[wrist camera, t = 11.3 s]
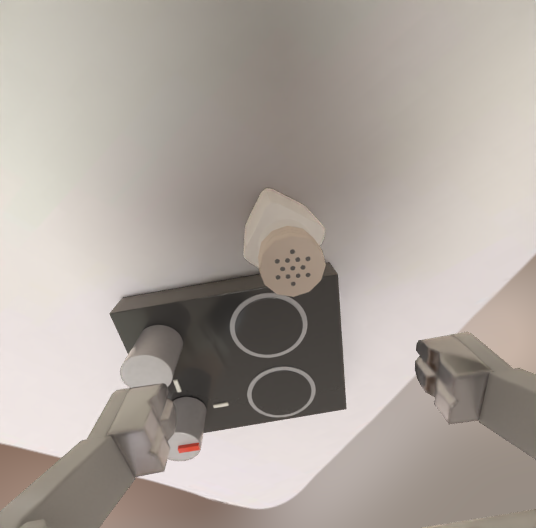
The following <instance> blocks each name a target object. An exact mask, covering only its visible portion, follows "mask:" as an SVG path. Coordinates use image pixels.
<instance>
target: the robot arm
mask: <svg viewBox="0 0 536 528" xmlns="http://www.w3.org/2000/svg"><path fill="white" fill-rule="evenodd" d="M416 351H417V352H418V353H419V355H420V356H419V357H418V359H417V360H416V361H415V371H416V375H417V379H418V381H419V382H420V385H421V386H422V388H423V389H424V391H425V392H426V393H428V394H430V395H432V396H434V397H435V403H434V404H435V406H436V407H437V409H438V410H439V411H440V413H441V414H442V415H443V417H444V418H445V420H446V421H447V422H448V424H455V423H463V422H469V421H478V420H479V422H480V423H481V424H483V425H484V426H486V427H487V428H489V429H490V430H492V431H493V432H495V433H496V434H498V435H499V436H501V437H502V438H504V439H505V440H507V441H509V442H510V443H511V444H513V445H515V446H516V447H517V448H519V449H520V450H522V451H523V452H525V453H526V454H528V455H529V456H531V457H532V458H534V459H536V374H533V373H531V372H528V371H526V370H523V369H520V368H515V369H513V368H512V367H511V366H510V365H509V364H507V363H506V362H505V361H504V360H503V359H501V358H500V357H499V356H498V355H497V354H495V353H494V352H493V351H492V350H491V349H489V348H488V347H487V346H486V345H485V344H483V343H482V342H481V341H480V340H479V339H477V338H476V337H475V336H474V335H472V334H471V333H469V332H463V333H457V334H452V335H447V336H441V337H435V338H430V339H424V340H419V341H418V343H417V346H416ZM168 394H169V390H168V388H167V385H166V384H164V383H160V384H153V385H146V386H139V387H132V388H128V389H120V390H116V391H115V392H114V393H113V394H112V395H111V397H110V399H109V401H108V402H107V404H106V406H105V408H104V410H103V411H102V413H101V415H100V417H99V418H98V420H97V422H96V424H95V426H94V427H93V429H92V431H91V433H90V435H89V436H88V438H87V440H82V441H80V442H79V443H78V444H77V445H76V446H75V447H73V448H72V449H71V450H70V451H69V452H68V453H67V454H65V455H64V456H63V457H62V458H61V459H60V460H59V461H57V462H56V463H55V464H54V465H53V466H52V467H50V468H49V469H48V470H47V471H46V472H45V473H44V474H42V475H41V476H40V477H39V478H38V479H37V480H36V481H34V482H33V483H32V484H31V485H30V486H29V487H28V488H26V490H24V491H23V492H22V493H21V494H19V495H18V496H17V497H16V498H15V499H14V500H13V501H11V502H10V503H9V504H8V505H7V506H6V507H5V508H3V509H2V510H1V511H0V528H99V527H100V526H101V525H102V523H103V522H104V520H105V519H106V518H107V517H108V515H109V514H110V512H111V511H112V510H113V508H114V507H115V506H116V504H117V503H118V502H119V500H120V499H121V498H122V496H123V495H124V494H125V492H126V491H127V490H128V488H129V487H130V485H131V484H132V483H133V481H134V480H135V477H138V476H143V475H148V474H153V473H158V472H163V471H164V470H165V466H166V463H167V459H168V455H169V451H170V446H169V444H168V440H169V439H170V438H171V437H172V436H173V434H174V432H175V428H176V422H177V412H176V407H175V404H174V402H173V401H172V400H170V399H169V398H167V397H168ZM423 528H536V509H533V510H527V511H521V512H515V513H509V514H503V515H496V516H491V517H484V518H478V519H472V520H466V521H460V522H453V523H447V524H441V525H435V526H429V527H423Z"/></svg>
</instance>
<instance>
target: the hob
mask: <svg viewBox="0 0 536 528" xmlns="http://www.w3.org/2000/svg"><path fill="white" fill-rule="evenodd" d="M261 293H275V292H274V291H272V290H271V289H270V288H268V287H267V286H266V285H265V284H264V282H263V279H262V277H261V274H258V275H252V276H246V277H240V278H234V279H229V280H223V281H217V282H211V283H205V284H199V285H193V286H188V287H182V288H176V289H170V290H164V291H158V292H153V293H147V294H141V295H135V296H129V297H123V298H122V299H121V300H120V301H119V303H118V304H117V305H116V306H115V308H114V309H113V310H112V311H111V312H110V316H111V318H112V320H113V322H114V324H115V327H116V329H117V331H118V333H119V335H120V337H121V340H122V342H123V344H124V346H125V348H126V350H127V353H128V354H129V352H130V350H131V349H132V347H133V345H134V344H135V342H136V340H137V338H138V337H139V335H140V333H141V332H142V331H143V330H144V329H145V328H147V327H150V326H153V325H164V326H168V327H171V328H173V329H174V330H176V331H177V332H178V333H179V334H180V336H181V338H182V340H183V349H182V352H181V355H180V358H179V361H178V364H177V367H176V370H175V373H174V376H173V379H172V382H171V384H170V385H169V386H168V387H167V388H168V390H169V394H168V397H167V398H169V399H170V400H172V401H174V400H175V399H177V398H181V397H192V398H196V399H198V400H200V401H201V402H202V403H203V404H204V405H205V407H206V410H207V413H206V420H205V426H204V432H203V433H206V432H212V431H218V430H224V429H230V428H236V427H242V426H248V425H254V424H260V423H266V422H272V421H278V420H284V419H290V418H296V417H302V416H308V415H314V414H320V413H326V412H332V411H338V410H344V409H346V395H345V379H344V364H343V348H342V332H341V316H340V301H339V285H338V274H337V273H336V271H335V270H334V268H333V267H332V265H331V264H330V263H329V262H328V263H326V266H325V269H324V273H323V276H322V279H321V281H320V282H319V283H318V284H317V285H316V286H315V287H314V288H313V289H312V290H311V291H310V292H307V293H304V294H301V295H298V296H294V297H292V296H289V297H291V298H292V299H294V300H295V301H297V302H298V303H299V304H300V305H301V307H302V308H303V310H304V311H305V314H306V317H307V331H306V334H305V336H304V338H303V340H302V341H301V343H300V344H299V345H298V346H297V347H296V348H294V349H293V350H292V351H290V352H288V353H286V354H284V355H281V356H277V357H271V358H263V357H257V356H253V355H250V354H248V353H246V352H244V351H243V350H242V349H240V348H239V347H238V346H237V345H236V343H235V342H234V340H233V338H232V336H231V333H230V320H231V317H232V315H233V313H234V311H235V309H236V308H237V307H238V306H239V305H240V304H241V303H242V302H243V301H245V300H246V299H248V298H250V297H252V296H254V295H257V294H261ZM279 366H290V367H295V368H298V369H301V370H303V371H305V372H306V373H307V374H309V375H310V377H311V378H312V379H313V381H314V383H315V388H316V392H315V396H314V399H313V401H312V402H311V404H310V405H309V406H308V407H307V408H305V409H304V410H303V411H301V412H299V413H297V414H295V415H292V416H287V417H269V416H266V415H263V414H261V413H259V412H257V411H256V410H255V409H254V408H253V407H252V406H251V405H250V403H249V401H248V397H247V391H248V387H249V385H250V383H251V381H252V380H253V379H254V378H255V377H256V376H257V375H258V374H260V373H261V372H263V371H265V370H267V369H270V368H273V367H279Z"/></svg>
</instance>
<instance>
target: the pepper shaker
mask: <svg viewBox="0 0 536 528" xmlns="http://www.w3.org/2000/svg"><path fill="white" fill-rule="evenodd" d="M324 238H325V228H324V227H323V225H322V224H321V223H320V222H319V221H318V220H317V218H316V217H315V216H314V215H313V214H312V213H311V212H310V211H309V210H308V208H307V207H306V206H305V205H303V204H301V203H299V202H297V201H295V200H293V199H291V198H289V197H287V196H285V195H283V194H281V193H279V192H277V191H275V190H273V189H269V188H265V189H264V190H263V191H262V192H261V193H260V196H259V198H258V200H257V202H256V204H255V206H254V208H253V210H252V212H251V214H250V216H249V218H248V221H247V223H246V225H245V235H244V255H243V256H244V257H245V258H246V260H247V261H248V262H249V263H251V264H253V265H255V266H257V267H259V271H260V274H261V277H262V279H263V282H264V284H265V285H266V286H267V287H268V288H270V289H271V290H272V291H274V292H275V293H276V294H278V295H285V296H292V297H294V296H298V295H301V294H304V293H307V292H310V291H311V290H312V289H313V288H314V287H315V286H316V285H317V284H318V283H319V282H320V281H321V279H322V276H323V273H324V269H325V266H326V263H325V260H324V256H323V252H322V249H321V248H320V246H321V244H322V242H323V240H324Z"/></svg>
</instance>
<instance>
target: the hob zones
mask: <svg viewBox="0 0 536 528" xmlns="http://www.w3.org/2000/svg"><path fill="white" fill-rule="evenodd" d="M306 331H307V317H306V314H305V311H304V310H303V308H302V307H301V305H300V304H299V303H298V302H297V301H295V300H294V299H292V298H291V297H289V296H285V295H278V294H276V293H261V294H257V295H254V296H252V297H250V298H248V299H246V300H245V301H243V302H242V303H241V304H240V305H239V306H238V307H237V308H236V309H235V311H234V313H233V315H232V317H231V320H230V333H231V336H232V338H233V340H234V342H235V343H236V345H237V346H238V347H239V348H240V349H242V350H243V351H244V352H246V353H248V354H250V355H253V356H257V357H263V358H271V357H277V356H281V355H284V354H286V353H288V352H290V351H292V350H293V349H294V348H296V347H297V346H298V345H299V344H300V343H301V341H302V340H303V338H304V336H305V334H306ZM182 349H183V340H182V338H181V336H180V334H179V333H178V332H177V331H176V330H174V329H173V328H171V327H168V326H164V325H153V326H150V327H147V328H145V329H144V330H143V331H142V332H141V333H140V335H139V337H138V338H137V340H136V342H135V344H134V345H133V347H132V349H131V350H130V352H129V354H128V356H127V357H126V359H125V361H124V363H123V364H122V366H121V370H120V374H121V378H122V380H123V382H124V383H125V384H126V385H127V386H128V387H130V388H132V387H139V386H146V385H153V384H160V383H164V384H166V385H167V387H168V386H169V385H170V384H171V382H172V379H173V376H174V373H175V370H176V367H177V364H178V361H179V358H180V355H181V352H182ZM315 392H316V388H315V383H314V381H313V379H312V378H311V377H310V375H309V374H307V373H306V372H305V371H303V370H301V369H298V368H295V367H290V366H279V367H273V368H270V369H267V370H265V371H263V372H261V373H260V374H258V375H257V376H256V377H255V378H254V379H253V380H252V381H251V383H250V385H249V387H248V391H247V397H248V401H249V403H250V405H251V406H252V407H253V408H254V409H255V410H256V411H257V412H259V413H261V414H263V415H266V416H269V417H287V416H292V415H295V414H297V413H299V412H301V411H303V410H304V409H305V408H307V407H308V406H309V405H310V404H311V402H312V401H313V399H314V396H315Z"/></svg>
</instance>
